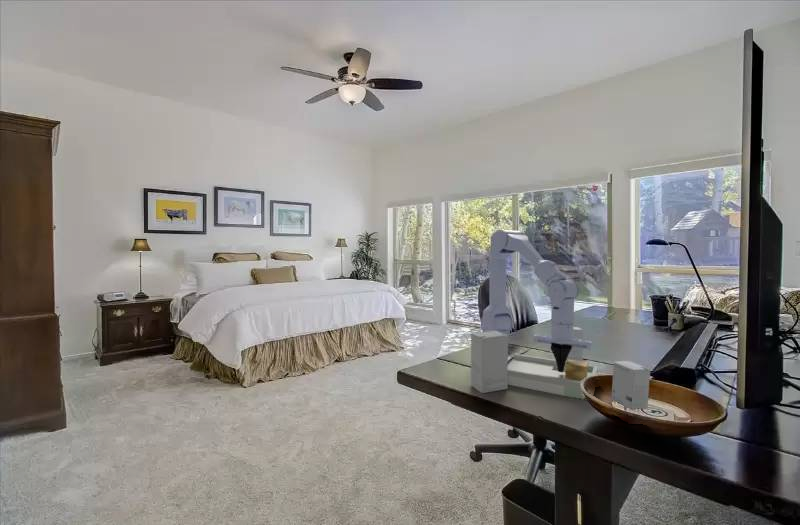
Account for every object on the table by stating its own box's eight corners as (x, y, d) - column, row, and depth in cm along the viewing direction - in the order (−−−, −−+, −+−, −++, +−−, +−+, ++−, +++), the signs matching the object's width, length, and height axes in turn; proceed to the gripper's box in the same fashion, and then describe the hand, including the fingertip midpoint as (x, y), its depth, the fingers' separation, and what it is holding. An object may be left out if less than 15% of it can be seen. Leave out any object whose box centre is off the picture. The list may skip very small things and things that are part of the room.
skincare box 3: (609, 413, 84) (611, 360, 84) (626, 412, 85) (628, 360, 85) (630, 426, 78) (632, 369, 78) (649, 424, 79) (651, 368, 78)
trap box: (498, 382, 103) (498, 368, 103) (514, 366, 118) (514, 353, 118) (592, 401, 91) (593, 385, 91) (597, 380, 106) (597, 366, 106)
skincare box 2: (577, 362, 123) (578, 326, 123) (582, 366, 119) (583, 329, 119) (558, 361, 124) (559, 326, 123) (563, 365, 120) (564, 329, 119)
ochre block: (565, 378, 100) (565, 363, 100) (567, 373, 104) (567, 359, 104) (585, 381, 98) (586, 366, 97) (587, 376, 102) (587, 362, 102)
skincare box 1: (495, 382, 103) (496, 329, 103) (508, 390, 98) (509, 334, 97) (469, 386, 100) (470, 331, 100) (481, 394, 95) (482, 336, 94)
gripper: (532, 322, 103) (530, 370, 103) (590, 328, 95) (588, 380, 96) (537, 318, 109) (536, 363, 109) (592, 323, 101) (591, 372, 102)
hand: (560, 371), depth 103 cm, fingers closed
